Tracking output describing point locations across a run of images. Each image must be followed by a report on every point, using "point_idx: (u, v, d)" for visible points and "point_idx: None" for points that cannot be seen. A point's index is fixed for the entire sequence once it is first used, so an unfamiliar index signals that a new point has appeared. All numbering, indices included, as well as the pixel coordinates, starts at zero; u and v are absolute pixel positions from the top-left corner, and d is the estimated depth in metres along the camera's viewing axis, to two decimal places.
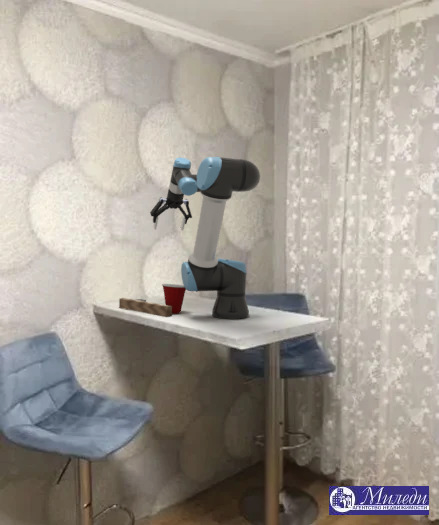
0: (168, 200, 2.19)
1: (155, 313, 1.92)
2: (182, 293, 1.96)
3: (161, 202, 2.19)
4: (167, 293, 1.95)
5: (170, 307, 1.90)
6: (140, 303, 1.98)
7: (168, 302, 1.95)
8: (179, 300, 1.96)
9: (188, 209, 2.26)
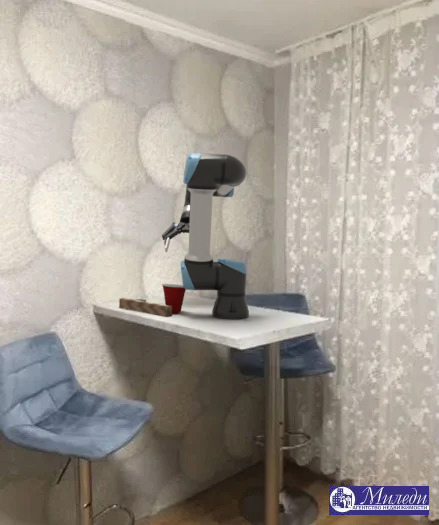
0: (180, 222, 2.18)
1: (155, 313, 1.92)
2: (182, 293, 1.96)
3: (172, 224, 2.18)
4: (167, 293, 1.95)
5: (170, 307, 1.90)
6: (140, 303, 1.98)
7: (168, 302, 1.95)
8: (179, 300, 1.96)
9: None
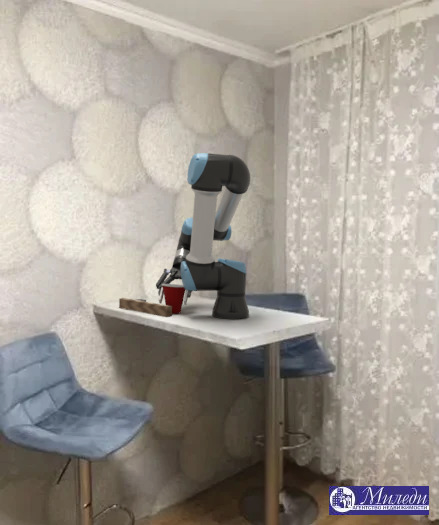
0: (172, 268, 2.07)
1: (155, 313, 1.92)
2: (182, 293, 1.96)
3: (164, 271, 2.06)
4: (167, 293, 1.95)
5: (170, 307, 1.90)
6: (140, 303, 1.98)
7: (168, 302, 1.95)
8: (179, 300, 1.96)
9: None
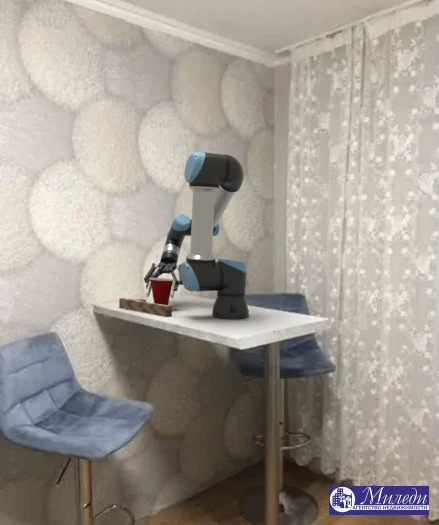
0: (160, 263, 2.12)
1: (155, 313, 1.92)
2: (169, 286, 2.01)
3: (153, 265, 2.11)
4: (154, 287, 2.00)
5: (170, 307, 1.90)
6: (140, 303, 1.98)
7: (155, 295, 2.01)
8: (166, 293, 2.01)
9: (180, 272, 2.07)
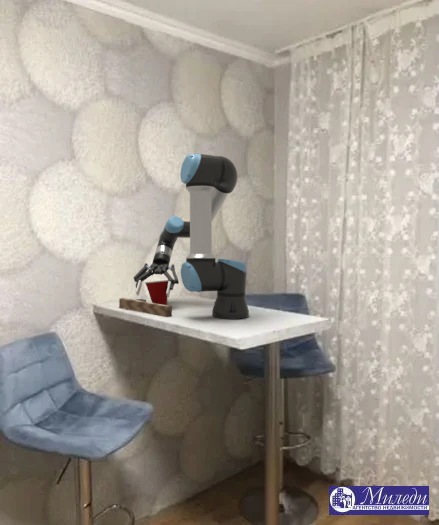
0: (152, 264, 2.14)
1: (155, 313, 1.92)
2: (164, 287, 2.04)
3: (145, 265, 2.14)
4: (150, 289, 2.03)
5: (170, 307, 1.90)
6: (140, 303, 1.98)
7: (153, 298, 2.04)
8: (163, 294, 2.04)
9: (173, 271, 2.10)
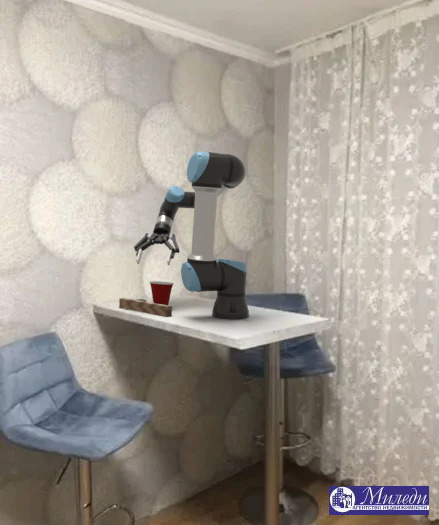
0: (153, 233, 2.13)
1: (155, 313, 1.92)
2: (168, 290, 2.04)
3: (145, 235, 2.13)
4: (154, 290, 2.03)
5: (170, 307, 1.90)
6: (140, 303, 1.98)
7: (155, 299, 2.04)
8: (165, 297, 2.04)
9: (174, 241, 2.09)
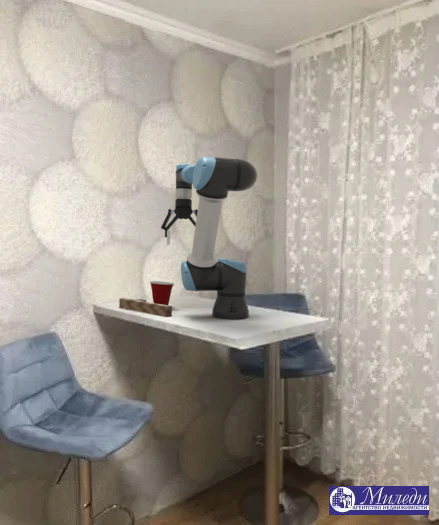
0: (176, 209, 2.17)
1: (155, 313, 1.92)
2: (168, 290, 2.04)
3: (169, 211, 2.17)
4: (154, 290, 2.03)
5: (170, 307, 1.90)
6: (140, 303, 1.98)
7: (155, 298, 2.04)
8: (165, 297, 2.04)
9: None
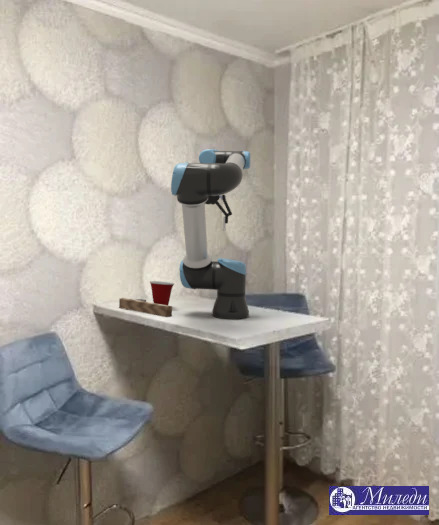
0: None
1: (155, 313, 1.92)
2: (168, 290, 2.04)
3: None
4: (154, 290, 2.03)
5: (170, 307, 1.90)
6: (140, 303, 1.98)
7: (155, 298, 2.04)
8: (165, 297, 2.04)
9: (225, 204, 2.16)
